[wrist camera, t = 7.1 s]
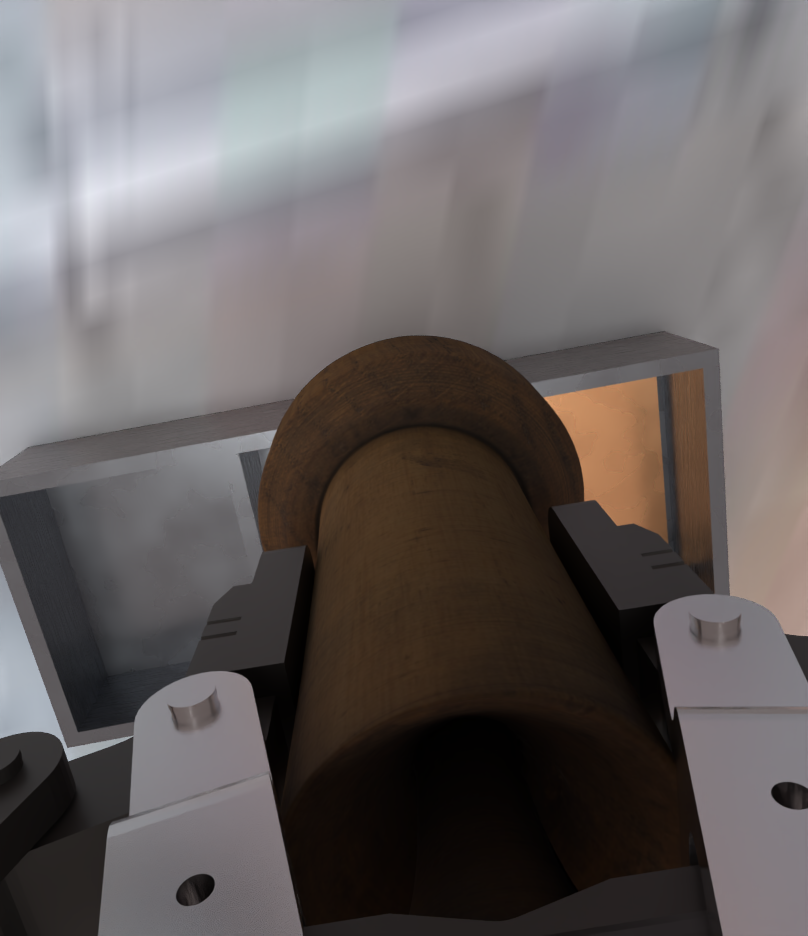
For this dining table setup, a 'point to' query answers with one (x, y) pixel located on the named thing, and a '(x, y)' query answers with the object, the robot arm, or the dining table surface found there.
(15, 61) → the dining table surface
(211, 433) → the rack
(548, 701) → the brown turned rounded post
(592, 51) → the dining table surface
